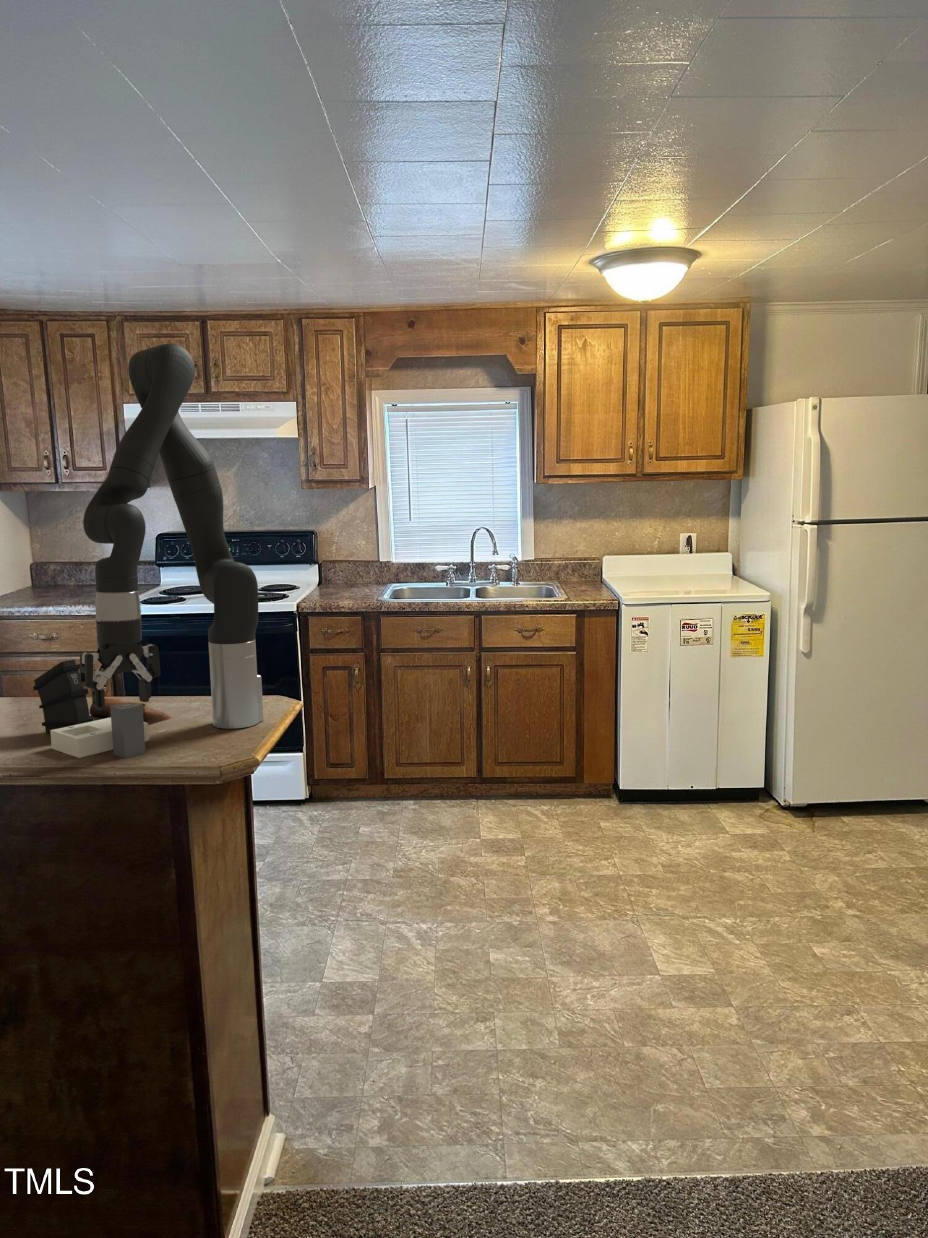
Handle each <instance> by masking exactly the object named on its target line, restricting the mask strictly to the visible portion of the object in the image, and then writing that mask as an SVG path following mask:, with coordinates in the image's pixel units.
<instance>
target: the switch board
mask: <svg viewBox="0 0 928 1238" xmlns="http://www.w3.org/2000/svg"><path fill="white" fill-rule="evenodd" d="M149 732H150V731H149V725H148V723H146V722H144V736H145V743H146V742H149V741H150V736H149ZM50 733H51V734H50V743H51V749H52V750H54V751H58V752H59V753H60V752H61V753H63V754H66V755H69V756H72V757H75V758H78V759H79V758H80V759H81V758H83V757H88V756H93V755H97V754H100V753H105V752H108V751H112V750H113V739H112V725H111V717H110V716H109V717H107V718H106V717H105V718H102V719H98V720H97V719H96V720H93V721H92V722H87V723H82V724H78V725H73V726H68V727H64V728H59V729H54V730H50Z"/></svg>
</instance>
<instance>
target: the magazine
mask: <svg viewBox="0 0 928 1238" xmlns="http://www.w3.org/2000/svg"><path fill="white" fill-rule="evenodd" d="M33 683H34V686H32V688H33V689H32V690H33V691H37V693H38V697H39V698H40V703H41V704H39V705H38V709H39V710H40V709H42V712H43V719H44V721H43V722H41V726H42V727H44V728H45V733H46V734H50V735H51V733H50V730H54V729H59V728H64V727H68V726H73V725H78V724H82V723H87V722H92V721H94V718H93V717H90V716H91V714H90V708H89V704H88V699H87V695H88V694H89V688H85V686H81V685H80V663H77V661H76V659H71V660H65V661H60V662H59V663H57V664H56V665H55V666H53V667H51V668H50V669H48V670H46V672H44V673H42V674H41V675H40V676H38V677H36V678H34V680H33Z"/></svg>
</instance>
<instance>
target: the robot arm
mask: <svg viewBox="0 0 928 1238" xmlns="http://www.w3.org/2000/svg"><path fill="white" fill-rule="evenodd" d="M127 370H128V377H129V381H130V384H131V386H132V390H133V393H134V394H135V397H136V399H137V401H138V403H139V405H140V408H141V410H140V411H139V413H138V414H137V416H136V418H135V419H133V422H132V423H131V424H130V425H129V427H128V428H127V429H126V432H125V433H124V434H123V436H122V437H121V439H120V441H119V443H118V445H117V447H116V450H115V451H114V455H113V457H112V460H111V462H110V463H111V464H110V466H109V469H108V470H109V471H108V472H107V477H106V478H105V479H104V481H103V482H102V484H101V485H100V486H99V488H98V489H97V490H96V492H95V493H94V494H93V497H92V498H91V500H90V501H89V502H88V504H87V507H86V508H85V511H84V515H83V519H82V521H83V522H82V524H83V530H84V533H85V535H86V536H87V538H88V539H89V540H90V541H92V542H94V543H97V544H112V549H111V553H110V555H109V556H108V557H107V556H106V557H103V558H100V559H98V560H97V561H96V562H95V567H94V568H95V569H94V571H95V572H94V574H95V593H96V594H95V601H94V602H95V603H94V604H95V607H94V608H95V625H96V627H95V628H96V642H97V650H96V652H85V651H84V652H83V651H82V652H81V653H80V654H79V664H80V669H79V673H80V685H81V686H84V688H85V687H86V688H87V689H90V690H91V705H92V704H93V706H94V707H95V708H96V709H97V710H105V689H103V688H104V686H105V685H106V683H107V681H108V680H110V679H111V677H112V676H113V674H115V675H119V674H122V673H132V672H133V673H134V674H135V675H136V676H137V678H138V679H139V680H138V694H139V695H138V698H139V701H140V702H141V703H148V702H150V699H151V696H152V680H153V679H155V678H158V677H160V676H161V674H162V673H161V672H162V671H161V663H160V650H159V646H158V645H156V644H152V643H147V644H145V645H144V646H143V645H142V639H143V636H142V635H143V633H142V615H141V614H142V610H141V607H142V606H141V599H140V594H139V577H138V576H139V575H138V566H139V562H140V559H141V554H142V550H143V545H144V541H145V536H146V520H145V518H144V515H143V513H142V511H141V510H140V509H139V508H138V507H137V506H136V505H134V504H131V503H130V502H132V501H134V500H138V499H140V498H142V497H143V496H145V495H146V493H147V491H148V488H149V486H150V482H151V478H152V476H153V472H154V469H155V466H156V462H157V460H158V457H159V456H160V460H161V463H162V465H163V467H164V471H165V475H166V478H167V482H168V484H169V487H170V491H171V494H172V496H173V497H172V498H173V500H174V502H175V505H176V507H177V510H178V513H179V517H180V520H181V522H182V525H183V529H184V531H185V533H186V537H187V538H188V542H189V543H190V547H191V551H192V552H191V553H192V556H193V561H194V565H195V566H194V567H195V571H196V575H197V579H198V585H199V587H200V590H201V593H202V594H203V596H204V598H206V599H207V600H208V601H209V602H210V603H211V604H213V622H212V624H211V626H209V628H208V630H207V634H208V635H207V639H208V640H207V641H208V655H209V675H210V676H209V677H210V691H211V694H210V695H211V709H212V712H211V713H212V725H213V727H215V728H217V729H218V728H219V729H229V730H230V729H232V730H233V729H243V728H248V727H253V726H256V725H257V724H259V723H260V722H264V706H263V705H264V703H263V701H264V699H263V685H262V684H263V682H262V681H263V680H262V676H261V675H260V674H258V666H257V664H258V663H257V662H258V661H257V645H256V631H257V628H258V624H259V586H258V585H259V584H258V580H257V579H258V578H257V576H256V574H255V572H254V571H253V569H252V568H251V567H250V566H249V565H247V564H245V563H244V562H243V563H242V562H239V561H235V560H234V557H233V556H232V553H231V549H230V547H229V544H228V542H227V539H226V535H225V529H224V495H223V491H222V489H223V488H222V485H221V483H220V479H219V475H218V472H217V469H216V465H215V464H214V461H213V459H212V457H211V456H210V453H209V452H208V451H207V450H206V449H205V448H204V446H203V445H202V444H201V442H199V440H198V439H197V438H196V436H194V435H193V434H192V432H191V431H190V430H189V429H188V427H187V426H186V424H185V423H184V421H183V419H182V417H181V414H180V412H179V410H180V409H181V406H182V404H183V402H184V400H185V399H186V397H187V395H188V393H189V391H190V389H191V387H192V385H193V382H194V380H195V371H196V369H195V362H194V360H193V358H192V356H191V354H190V353H189V351H188V350H187V349H186V348H185V347H183V346H181V345H179V344H176V343H174V342H173V343H172V342H171V343H162V344H158V345H156V346H151V347H148V348H145V349H142V350H139V351H137V352H135V353H134V354H132V356H131V357H130V360H129V361H128V368H127ZM143 655H144V657H145V658H146V659H145V660H146V666H147V667H145V666H144V664H143V663H142V661H140V660H141V658H142V657H143ZM96 661H97V662H99V663H100V664H99V665H98V667H97V669H96V670H95V672H94V665H96Z"/></svg>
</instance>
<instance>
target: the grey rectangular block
mask: <svg viewBox="0 0 928 1238" xmlns="http://www.w3.org/2000/svg"><path fill="white" fill-rule="evenodd" d="M132 702H133V701H131V702H128V703H123V704H118V705H113V706H110V711H111V725H112V739H113V755H114V756H117V757H121V758H123V759H129V758H131V757H132V758H133V757H137V756H140V755H144V754H146V742H145V736H144V721H143V706H142V705H140V704H136V703H132Z"/></svg>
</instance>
